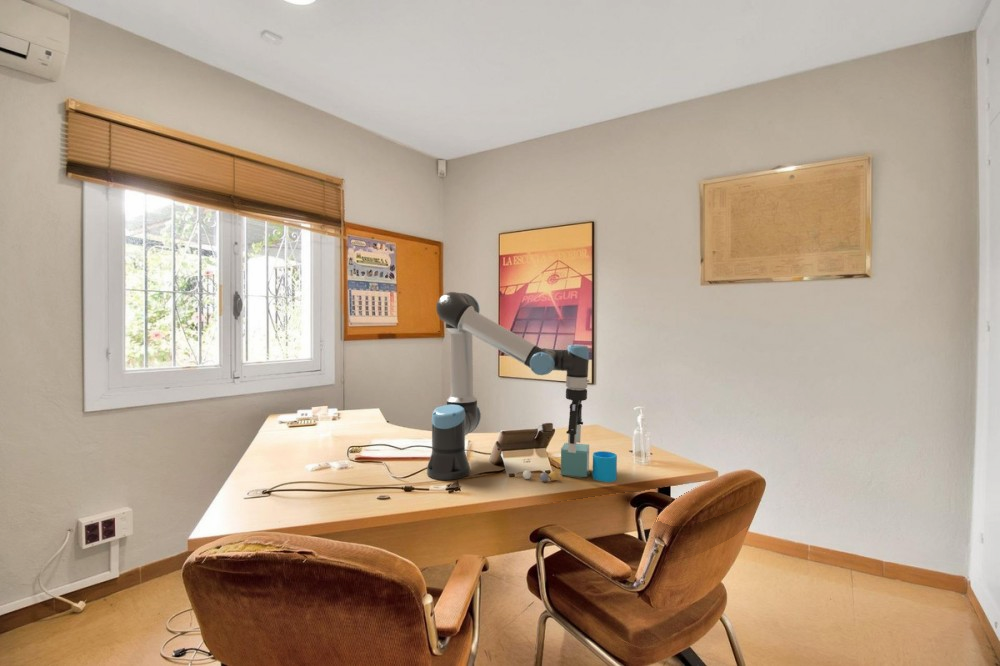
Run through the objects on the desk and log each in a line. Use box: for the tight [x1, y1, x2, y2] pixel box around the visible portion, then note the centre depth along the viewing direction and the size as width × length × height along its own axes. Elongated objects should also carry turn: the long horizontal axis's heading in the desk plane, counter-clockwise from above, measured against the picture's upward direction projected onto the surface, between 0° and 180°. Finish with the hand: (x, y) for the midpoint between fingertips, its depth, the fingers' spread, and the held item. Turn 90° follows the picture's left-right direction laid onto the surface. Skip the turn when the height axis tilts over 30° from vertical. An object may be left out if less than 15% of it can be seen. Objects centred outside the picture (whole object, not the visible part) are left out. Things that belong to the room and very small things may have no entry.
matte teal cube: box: [560, 442, 590, 478], centre depth 167 cm, size 9×9×9 cm
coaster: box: [564, 470, 591, 479], centre depth 167 cm, size 10×10×1 cm
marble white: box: [522, 470, 532, 480], centre depth 161 cm, size 3×3×3 cm
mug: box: [592, 450, 618, 483], centre depth 164 cm, size 12×8×8 cm
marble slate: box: [539, 472, 550, 483], centre depth 159 cm, size 3×3×3 cm
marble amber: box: [548, 471, 559, 481], centre depth 160 cm, size 3×3×3 cm
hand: (574, 447), depth 167 cm, fingers open, 13 cm apart
